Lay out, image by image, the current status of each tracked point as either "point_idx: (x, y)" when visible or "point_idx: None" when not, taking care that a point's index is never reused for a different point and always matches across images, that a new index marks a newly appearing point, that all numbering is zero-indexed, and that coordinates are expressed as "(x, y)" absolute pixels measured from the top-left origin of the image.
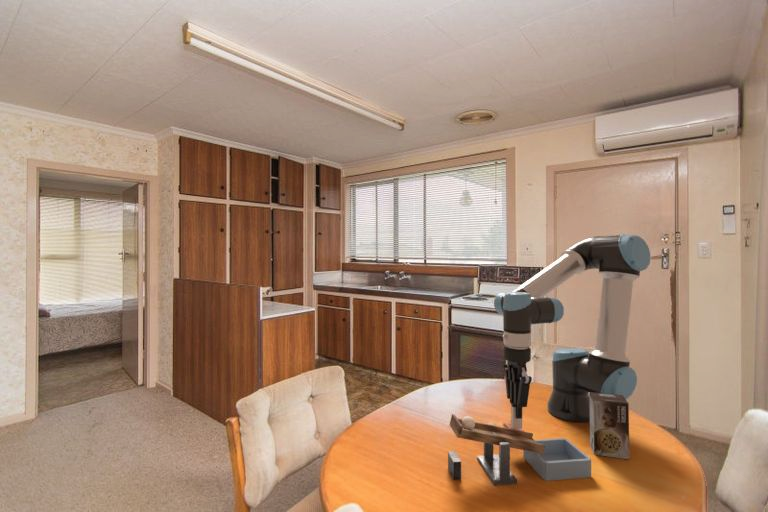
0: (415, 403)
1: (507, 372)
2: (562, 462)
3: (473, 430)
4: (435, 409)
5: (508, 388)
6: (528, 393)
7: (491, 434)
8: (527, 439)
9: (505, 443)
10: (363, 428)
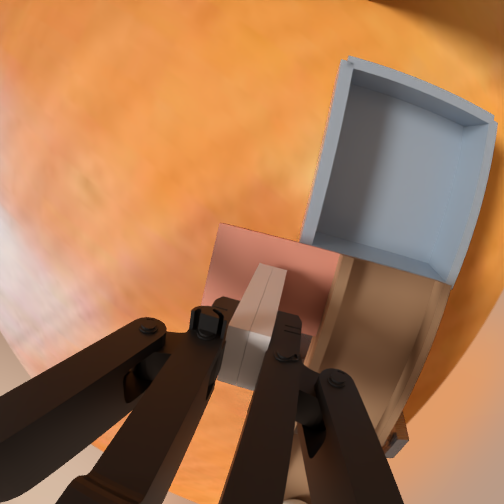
0: (2, 311)
1: (12, 491)
2: (473, 229)
3: (296, 489)
4: (18, 290)
5: (116, 419)
6: (394, 484)
7: None
8: (364, 301)
9: (397, 447)
10: (99, 441)
